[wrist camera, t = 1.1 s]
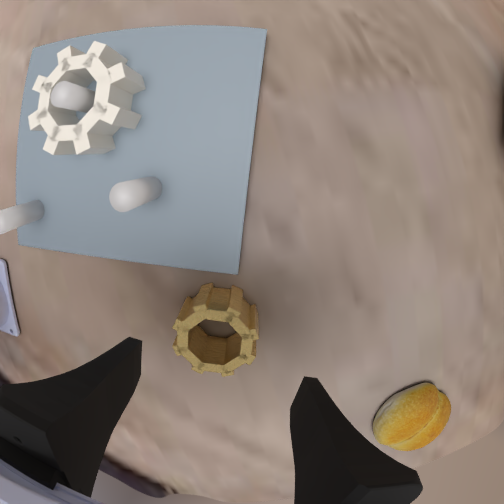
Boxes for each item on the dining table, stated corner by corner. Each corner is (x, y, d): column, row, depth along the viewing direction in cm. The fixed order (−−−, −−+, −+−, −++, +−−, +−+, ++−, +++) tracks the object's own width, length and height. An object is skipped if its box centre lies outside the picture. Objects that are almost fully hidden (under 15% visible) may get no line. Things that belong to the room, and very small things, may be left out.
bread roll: (416, 368, 24) (433, 394, 20) (452, 398, 26) (467, 421, 22) (352, 422, 26) (362, 451, 22) (397, 444, 28) (407, 468, 24)
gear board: (27, 240, 21) (-18, 262, 15) (41, 51, 16) (-2, 35, 11) (238, 268, 21) (233, 306, 16) (266, 36, 17) (270, -4, 11)
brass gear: (182, 343, 23) (172, 369, 20) (183, 279, 21) (172, 299, 18) (252, 352, 23) (252, 379, 20) (261, 288, 22) (262, 310, 18)
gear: (53, 154, 18) (24, 156, 14) (66, 63, 16) (39, 52, 12) (137, 154, 18) (115, 154, 15) (151, 53, 16) (133, 35, 13)
